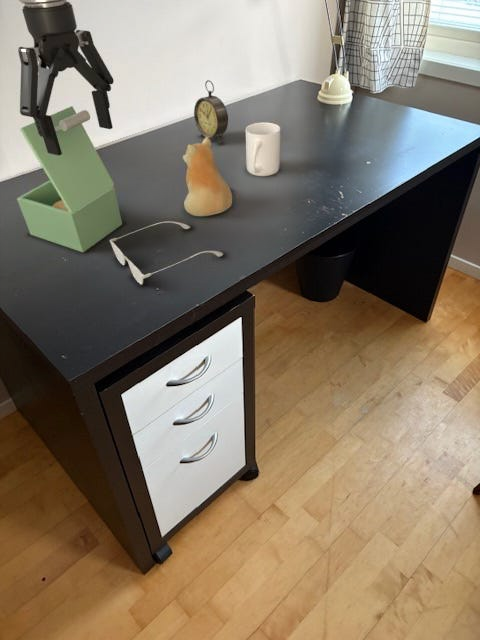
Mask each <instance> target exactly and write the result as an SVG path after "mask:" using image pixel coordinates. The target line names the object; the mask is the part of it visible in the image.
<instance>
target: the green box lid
mask: <svg viewBox="0 0 480 640" xmlns="http://www.w3.org/2000/svg"><path fill="white" fill-rule="evenodd" d="M49 116H51V118H52V121H53V125H54V128H55V131H56V135H57V138H58V142H59V145H60V149H61V152H62V154H61V155H59V156H58V155H54V154H50V153H48V152H47V148H46V145H45V142H44V139H43V137H41V136H40V135H39V134H38V130H37V127H36V124H35V121H33V122H31V123H30V124H27V125H25V126H23V127H21V128H19V130H20V132H21V134H22V135H23V138H24V139H25V140H26V142H27V144H28V146H29V147H30V149H31V150H32V152H33V154H34V156H35V157H36V160H37V161H38V162H39V164H40V166H41V168H42V169H43V171H44V172H45V174H46V176H47V178H48V179H49V180H50V181H51V182H52V184H53V186H54V187H55V189H56V191H57V192H58V194H59V196H60V197H61V199H62V201H63V202H64V204H65V206H66V207H67V209H68V211H69V212H70V213H72V212H74V211H75V210H77V209H78V208H80V207H82V206H83V205H85V204H86V203H88V202H89V201H91V200H93V199H94V198H96V197H97V196H99V195H101V194H102V193H104V192H105V191H107V190H108V189H110V188H114V187H115V184H114V181H113V179H112V178H111V175H110V174H109V172H108V170H107V168H106V167H105V165H104V163H103V160H102V159H101V157H100V155H99V154H98V152H97V150H96V147H95V146H94V143H93V142H92V140H91V139H90V137H89V135H88V133H87V130H86V129H85V127H84V125H83V124H84V123H86V122H88V121H89V120H90V119H91V114H90V112H89V111H88V110H86V109H83V110H81V111H79V112H76V110H75V108H74V107H73V105H71V106H69V107H67V108H64V109H62V110H60V111H57V112H55V113H53V114H51V115H49Z"/></svg>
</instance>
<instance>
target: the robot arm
mask: <svg viewBox="0 0 480 640" xmlns="http://www.w3.org/2000/svg"><path fill="white" fill-rule="evenodd" d="M18 1H19V2H20V3H22V4H24V6H22V9H21V12H22V14H23V18H24V22H25V24H26V28H27V31H28V33H29V34H30V36H31V37H32V39H33V46H31V47H27V46H26V47H25V46H19V47H18V49H17V50H18V51H17V52H18V56H19V60H20V64H21V65H20V95H19V113H20V115H21V116H24V117H29V118H33V122H35V124H36V127H37V130H38V134H39V135H40V136H41V137H43V139H44V142H45V145H46V148H47V152H48V153H50V154H54V155H58V156H59V155H61V154H62V152H61V149H60V145H59V142H58V138H57V135H56V131H55V128H54V125H53V121H52V118H51V116H50V115H49V114H47V113H48V109H49V104H50V100H51V97H52V91H53V87H54V84H55V79H56V78H57V77H58V76H59V73H60V72H64V71H66V70H67V69H73V68H74V69H75V71H77V72H78V74H80V76H81V77H83V78H84V79H85V80H86V82H87V83H88V84H89V85H90V86H91V87H92V88H93V89H94V90H92V91H91V96H92V100H93V106H94V109H95V114H96V118H97V122H98V126H99V128H101V129H107V130H112V129H114V127H113V123H112V118H111V114H110V108H111V105H110V104H111V103H110V99H109V95H108V92H111V90H112V85H113V84H114V81H115V79H114V77H113V76H112V74H111V72H110V70H109V69H108V67H107V65H106V64H105V62H104V59H103V58H102V56H101V55H100V53H99V51H98V50H97V47H96V46H95V43H94V40H93V37H92V34H91V31H89V30H83V29H77V28H78V25H77V21H76V16H75V12H74V7H73V5H72V3H71V2H70V1H67V0H18ZM79 49H80V51H81V52H82V53H81V52H80V51H79Z"/></svg>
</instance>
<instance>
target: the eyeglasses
mask: <svg viewBox="0 0 480 640" xmlns="http://www.w3.org/2000/svg"><path fill="white" fill-rule="evenodd" d="M167 223H170V224H175V225H179V226H180V227H181V228H182V229H184V230H188V229H190V228H191V226H190V225H189V224H186V223H184V222H179V221H172V220H171V221H170V220H169V221H168V220H167V221H166V220H165V221H160V222H157V223H156V222H155V223H154V224H151V225H148V226H146V227H142V228H140V229H137V230H134V231H132V232H129V233H127V234H124V235H122V236H120V237H114V238H111V239H109V243H110V245H111V249H112V251H113V253H114V255H115V257H116V259H117V260H118V262H119V263H120V264H121V265H122V266H125V265H126V262H127V263H128V266H129V269H130V272H131V274H132V276H133V278H134V279H135V281H136V282H137V283H139V285H143V284H144V279H147V278H149V277H151V276H152V275H153V274H156V273H158V272H160V271H163V270H166V269H168V268H171V267H173V266H175V265H178V264H180V263H183V262H184V261H187V260H189V259H193V258H194V257H195V256H198V255H200V254H204V253H211V254H214V255H215V256H216V257H218V258H220V257H223V255H224V253H223V252H221V251H219V250H204V251H200V252H197V253H195V254H193V255H191V256H189V257H187V258H186V259H183V260H181V261H179V262H177V263H174V264H171V265H169V266H166V267H164V268H161V269H159V270H157V271H154V272H148V273H146V274H144V273H142V272H141V270H140V269H139V268H138V267H137V266H136V265H135V264H134V263H133V262H132V261H131V260H130V259H129V258H128V257H127V256H126V255H125V254H124V253H123V252H122V250H121V249H120V248H119V247H118V246H117V244H115V243H114V242H116V241H118V240H119V239H122V238H123V237H126V236H128V235H131V234H133V233H136V232H138V231H141V230H144V229H147V228H149V227H152V226H156V225H160V224H167Z"/></svg>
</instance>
